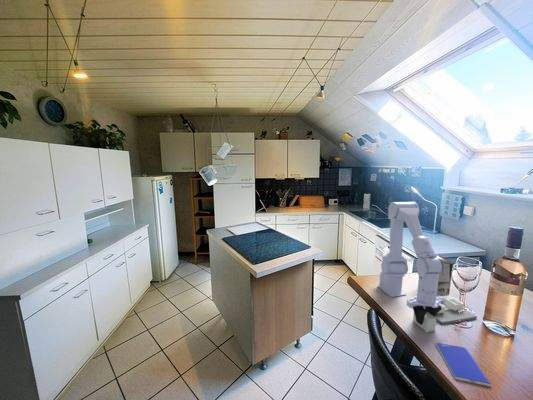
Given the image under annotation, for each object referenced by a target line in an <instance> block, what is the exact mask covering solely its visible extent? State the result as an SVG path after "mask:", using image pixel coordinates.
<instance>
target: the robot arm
mask: <svg viewBox="0 0 533 400" xmlns="http://www.w3.org/2000/svg"><path fill="white" fill-rule="evenodd" d="M419 208H420V207H419V204H418V203H417V202H416V201H397V202H396V201H392V202H390V204H389V205H388V209H387V215H388V217H387V218H388V219H389V220H390V223H389V224H390V225H389V226H390V227H389V248H388V249H389V250H388V251H389V252H388V253H387V254H385V255H383V256H382V260H381V264H380V265H381V272H380V273H379V285H377V288H379V289H380V290H381V291H383V292H384V293H386V295H387V296H389V297H391V298H394V297H402V296H407V293H405V292H404V291H403V277H405V275H407V274H408V272H409V266H408V259H407V258H406V257H405V256H403V242H404V241H403V240H404V238H403V237H404V223H405V224H406V226H407V228H408V230H409V232H410V235H411V236H412V241H411V245H412V247H413V250H414V253H415V256H416V258H417V260H416V261H415V264H416V265H415V266H416V268H417V272H416V273H417V275H418V281H417V294H416V295H415V296H414V297H412V298H410V299H408V300H406V306H407V307H408V308H410V309H412V310H413V314H414V313H415V317H416V321H417V322H418V323H419V324H420V325H422V324H423V321H424V317H425V314H426V313H427V312H429V313H430V314H431V315H433V316H434V317H435V316H436V314H437V313H438V312H439V311H440V310H441V306H439V305H438V304H439V303H442V304H443V303H445V298H443V297H442V296H437V288H438V279H439V273H442V272H443V271H444V263H443V260H442V259H441V258H440V257H439V256H440V255H438V254H437V253H435V250H434V248H433V246H432V243H431V241H430V239H429V238H428V237H426V236H424V232H423V230H422V226H421V224H420V220H419V214H420V209H419ZM423 306H425V309H424V307H423Z"/></svg>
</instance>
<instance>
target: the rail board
mask: <svg viewBox="0 0 533 400" xmlns="http://www.w3.org/2000/svg"><path fill="white" fill-rule="evenodd" d="M442 297H443V298H445V303H443V304H442V303H439V304H438V305H439V306H441V310H440V311H439V312H438V313H437V314H436V316H435V318H436V322H437V323H438V324H440V325H442V326H443V325H448V324H453V322H455V323H457V322H456V321H459V320H466V321H471V320H476V319H478V316H477V315H475V314H474V313H472V312H470V311H468V310H467V309H465V310H464V311H462V312H460V313H459V312H458V310H463V308H464V305H465V304H464V303H463V302H462V301H460V300H458V299H456V298H455V297H453V296H451V295H450V294H449V295H447V296H442ZM423 307H424V309H425V306H423Z"/></svg>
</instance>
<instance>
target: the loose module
mask: <svg viewBox="0 0 533 400" xmlns="http://www.w3.org/2000/svg"><path fill="white" fill-rule="evenodd" d="M412 322H414V323H415V324H416V325H418V326H419V327H420V328H421V329H422V330H424V331H425V332H426V333H429V332H434V331H436V326H437V325H436V324H437V321H436V318H435V317H434V316H433V315H431V314H430V313H429V312H427V313H426V314H425V317H424V321H423V324H422V325H420V324H419V323H418V322H417V321H416V317H415V313H414V312H413V319H412Z"/></svg>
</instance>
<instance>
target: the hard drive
mask: <svg viewBox="0 0 533 400" xmlns="http://www.w3.org/2000/svg"><path fill="white" fill-rule="evenodd" d="M435 346H436V348H437V349H438V352H439V353H440V354H441V357H442V359H443V360H444V362H445V364H446V366H447V367H448V369H449V371H450V373H451V374H452V376H453V378H454V380H458V381H459V380H460V381H465V382H469V383H472V384H473V383H474V384H478V385H481V386H482V385H483V386H488V387H491V386H492V383H491V382H490V381H489V379H488V378H487V376H486V375H485V373H484V372H483V371H482V369H481V368H480V366H479V365H478V364H477V362H476V360H475V359H474V358H473V356H472V355H471V353H470V352H469V350H468V349H467V348H466V347H464V346H458V345H453V344H448V343H447V344H446V343H442V342H436V343H435Z"/></svg>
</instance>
